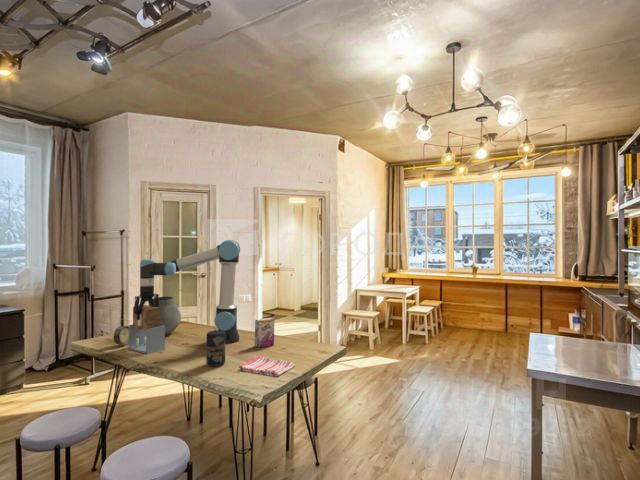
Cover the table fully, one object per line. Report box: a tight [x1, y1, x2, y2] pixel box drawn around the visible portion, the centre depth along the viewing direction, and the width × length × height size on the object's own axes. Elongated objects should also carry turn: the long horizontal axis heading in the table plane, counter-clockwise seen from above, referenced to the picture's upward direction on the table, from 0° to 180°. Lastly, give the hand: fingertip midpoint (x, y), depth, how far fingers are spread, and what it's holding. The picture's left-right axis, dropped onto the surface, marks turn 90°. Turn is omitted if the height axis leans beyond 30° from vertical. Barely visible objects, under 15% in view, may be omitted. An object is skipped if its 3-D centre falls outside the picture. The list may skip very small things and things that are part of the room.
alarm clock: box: [113, 318, 129, 348], centre depth 225 cm, size 11×5×16 cm, turn 168°
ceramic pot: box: [147, 295, 182, 335], centre depth 253 cm, size 24×24×25 cm
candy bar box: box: [254, 317, 275, 349], centre depth 226 cm, size 11×5×16 cm, turn 123°
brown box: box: [132, 304, 161, 330], centre depth 218 cm, size 15×8×12 cm, turn 57°
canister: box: [205, 329, 226, 367], centre depth 192 cm, size 10×10×18 cm
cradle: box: [128, 324, 166, 355], centre depth 218 cm, size 19×11×14 cm, turn 57°
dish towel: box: [238, 355, 296, 377], centre depth 187 cm, size 17×23×4 cm
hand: (146, 323), depth 218 cm, fingers closed on brown box, 8 cm apart
